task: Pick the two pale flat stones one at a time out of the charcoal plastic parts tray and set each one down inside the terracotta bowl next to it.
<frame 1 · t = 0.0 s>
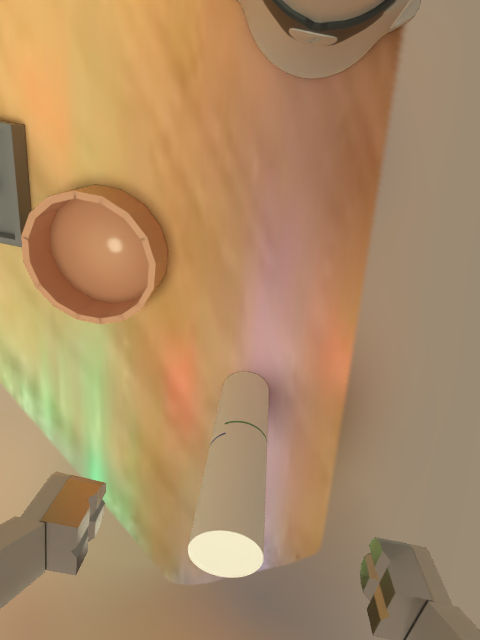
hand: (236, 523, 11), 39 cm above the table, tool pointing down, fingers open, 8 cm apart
terracotta bowl: (107, 250, 49), on the table
cylindrical container: (245, 390, 57), on the table
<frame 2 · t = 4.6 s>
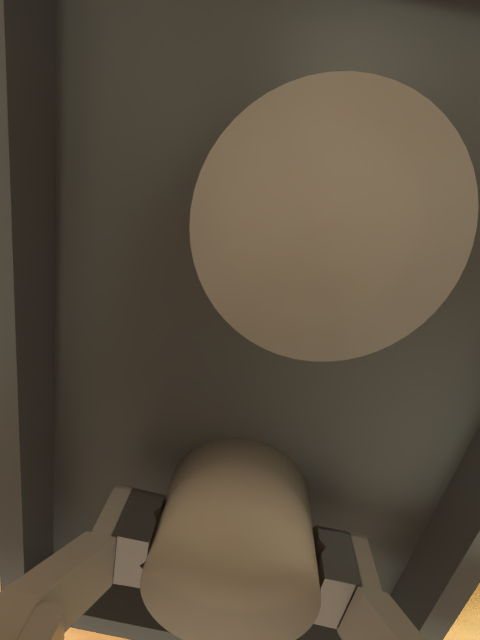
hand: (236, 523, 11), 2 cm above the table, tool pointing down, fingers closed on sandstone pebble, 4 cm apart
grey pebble: (308, 216, 9), point 1 cm above the table, touching parts tray
sandstone pebble: (238, 494, 12), point 1 cm above the table, touching gripper, parts tray
parts tray: (268, 364, 11), on the table
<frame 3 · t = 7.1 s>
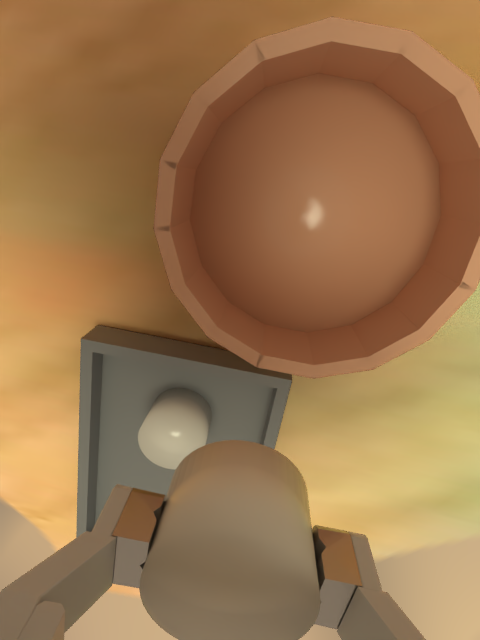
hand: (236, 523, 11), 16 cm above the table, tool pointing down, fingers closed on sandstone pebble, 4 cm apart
terracotta bowl: (310, 216, 23), on the table
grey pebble: (182, 414, 28), point 1 cm above the table, touching parts tray
sandstone pebble: (238, 496, 12), point 14 cm above the table, touching gripper
parts tray: (177, 454, 30), on the table
when the fingers open (5 cm above the table, at t = 10.1 s): sandstone pebble drops 3 cm, resting on terracotta bowl.
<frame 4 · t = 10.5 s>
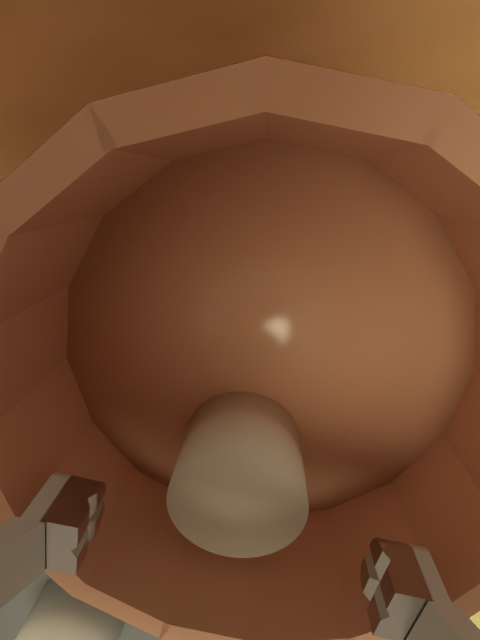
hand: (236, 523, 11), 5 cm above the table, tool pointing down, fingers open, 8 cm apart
terracotta bowl: (263, 354, 14), on the table
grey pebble: (85, 602, 19), point 1 cm above the table, touching parts tray
sandstone pebble: (243, 440, 15), point 1 cm above the table, touching terracotta bowl
parts tray: (88, 637, 21), on the table
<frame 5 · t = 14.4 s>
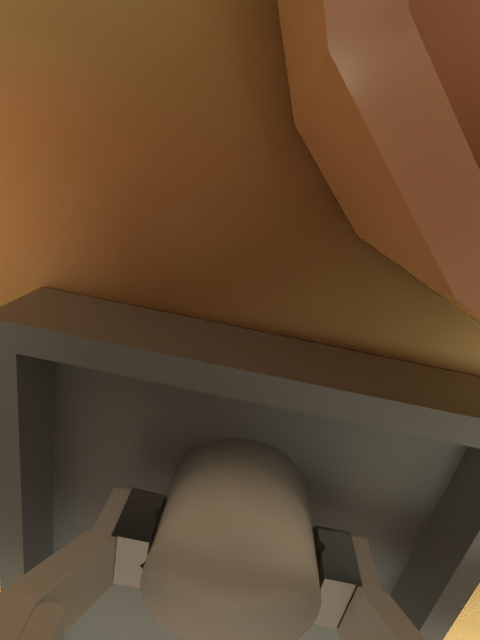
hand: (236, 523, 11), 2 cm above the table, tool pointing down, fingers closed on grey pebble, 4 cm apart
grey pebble: (238, 494, 12), point 1 cm above the table, touching gripper, parts tray
parts tray: (218, 563, 15), on the table
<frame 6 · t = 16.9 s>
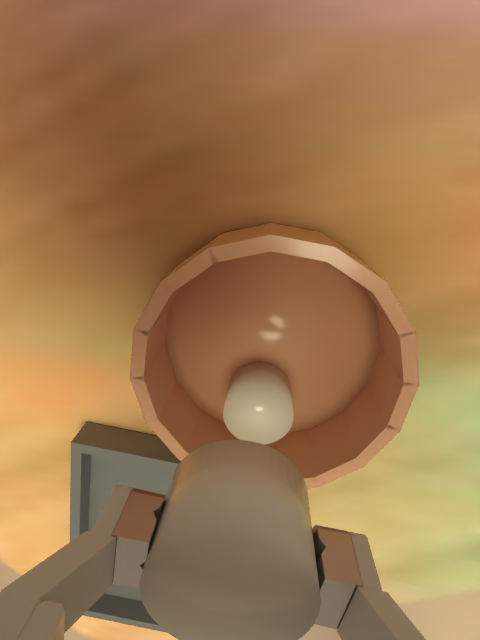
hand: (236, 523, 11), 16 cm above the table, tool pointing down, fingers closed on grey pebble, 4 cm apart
terracotta bowl: (270, 341, 26), on the table
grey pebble: (238, 495, 12), point 15 cm above the table, touching gripper
sandstone pebble: (259, 389, 27), point 1 cm above the table, touching terracotta bowl
parts tray: (159, 527, 33), on the table
when the fingers open (5 cm above the table, at t = 19.8 s): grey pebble drops 3 cm, resting on terracotta bowl.
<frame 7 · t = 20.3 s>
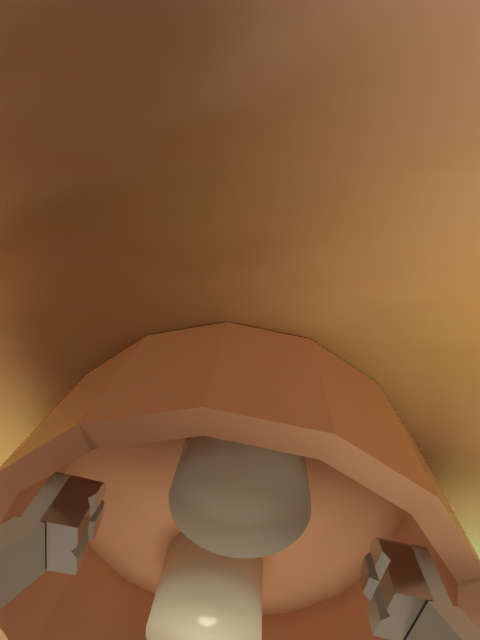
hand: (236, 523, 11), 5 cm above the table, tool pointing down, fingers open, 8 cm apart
terracotta bowl: (230, 490, 17), on the table
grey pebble: (244, 440, 15), point 1 cm above the table, touching terracotta bowl
sandstone pebble: (214, 560, 17), point 1 cm above the table, touching terracotta bowl
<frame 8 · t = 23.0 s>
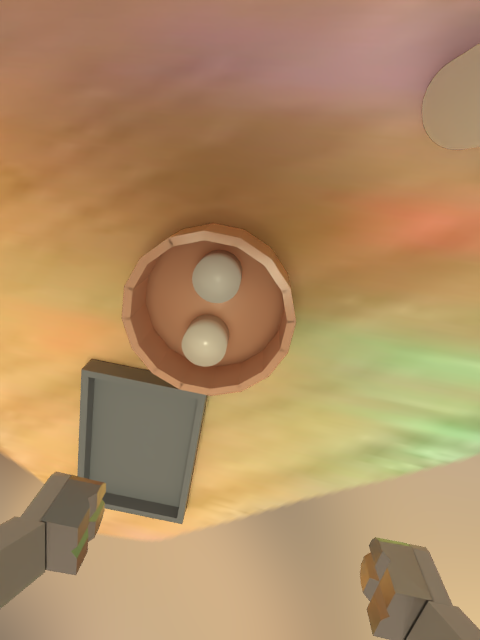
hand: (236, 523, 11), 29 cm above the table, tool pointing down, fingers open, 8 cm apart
terracotta bowl: (215, 301, 39), on the table
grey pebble: (220, 271, 37), point 1 cm above the table, touching terracotta bowl
sandstone pebble: (208, 333, 40), point 1 cm above the table, touching terracotta bowl
cylindrical container: (464, 104, 32), on the table
parts tray: (142, 439, 47), on the table
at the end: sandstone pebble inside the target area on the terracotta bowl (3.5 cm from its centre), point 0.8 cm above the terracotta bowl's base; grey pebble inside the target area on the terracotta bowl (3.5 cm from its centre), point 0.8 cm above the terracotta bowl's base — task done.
